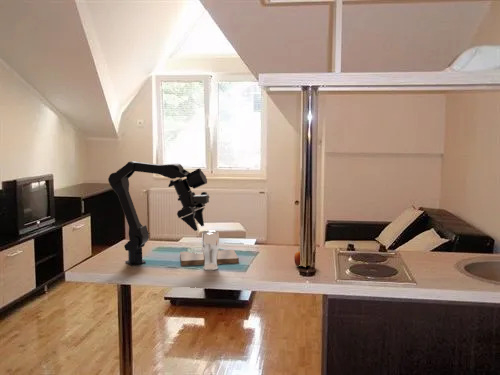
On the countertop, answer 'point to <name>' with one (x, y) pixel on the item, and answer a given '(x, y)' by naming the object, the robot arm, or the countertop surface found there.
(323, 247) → the countertop surface
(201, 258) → the walnut board
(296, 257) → the fruit
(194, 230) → the robot arm
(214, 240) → the beer glass
